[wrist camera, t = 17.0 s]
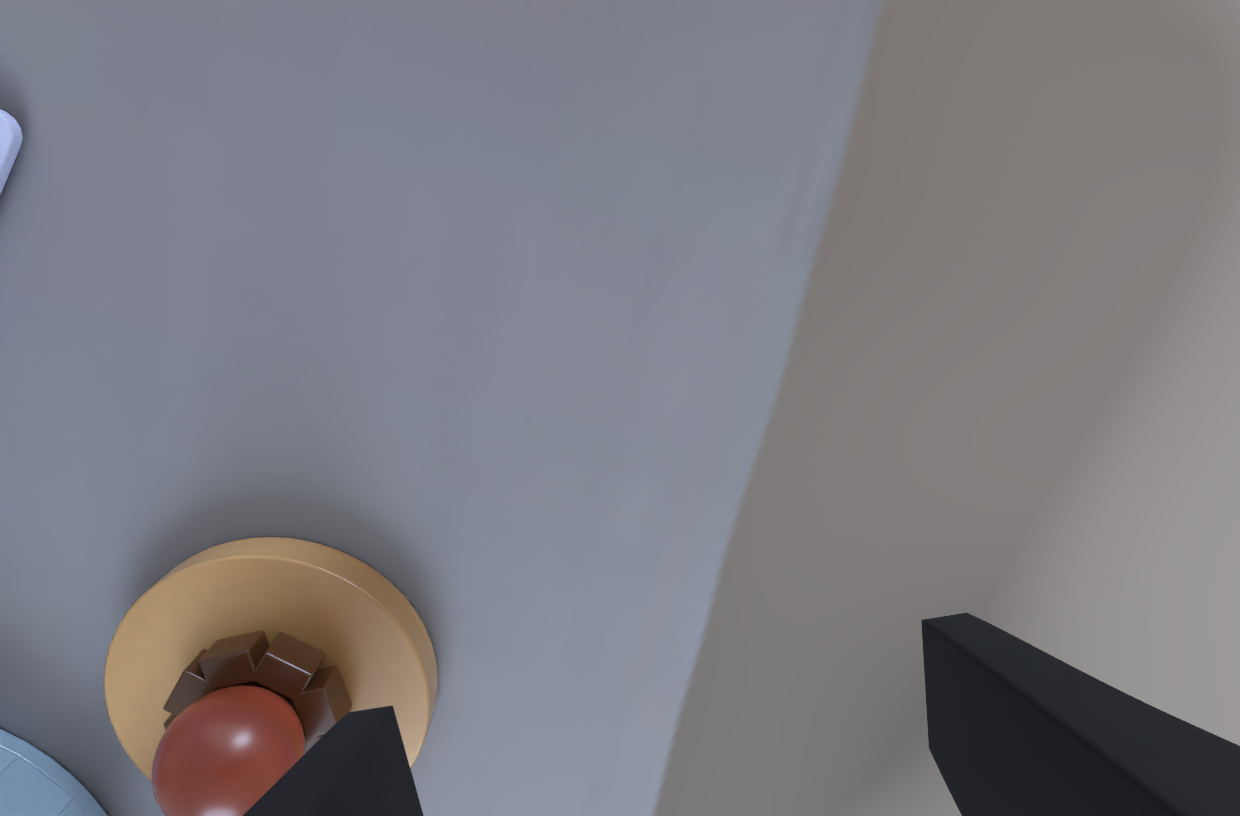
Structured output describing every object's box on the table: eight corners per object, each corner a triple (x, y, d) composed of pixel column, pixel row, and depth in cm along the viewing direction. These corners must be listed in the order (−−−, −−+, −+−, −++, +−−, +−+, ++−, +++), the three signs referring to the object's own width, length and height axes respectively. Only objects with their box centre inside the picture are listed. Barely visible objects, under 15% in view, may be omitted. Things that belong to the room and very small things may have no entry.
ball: (215, 776, 19) (146, 881, 16) (179, 669, 19) (99, 760, 16) (336, 756, 20) (291, 857, 16) (305, 649, 19) (251, 735, 16)
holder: (81, 720, 21) (23, 778, 19) (209, 479, 19) (161, 512, 17) (353, 843, 22) (327, 910, 20) (493, 628, 21) (482, 676, 18)
